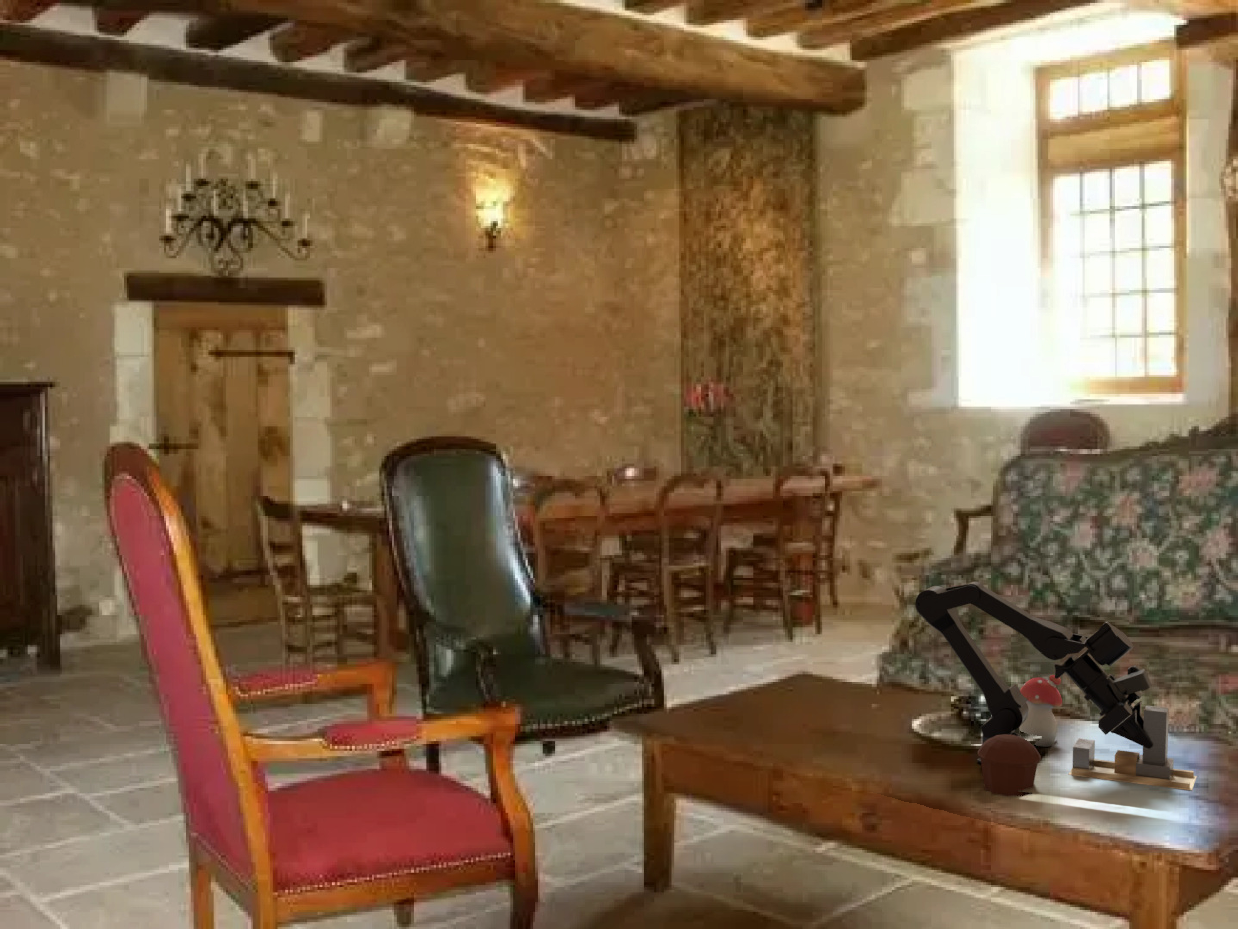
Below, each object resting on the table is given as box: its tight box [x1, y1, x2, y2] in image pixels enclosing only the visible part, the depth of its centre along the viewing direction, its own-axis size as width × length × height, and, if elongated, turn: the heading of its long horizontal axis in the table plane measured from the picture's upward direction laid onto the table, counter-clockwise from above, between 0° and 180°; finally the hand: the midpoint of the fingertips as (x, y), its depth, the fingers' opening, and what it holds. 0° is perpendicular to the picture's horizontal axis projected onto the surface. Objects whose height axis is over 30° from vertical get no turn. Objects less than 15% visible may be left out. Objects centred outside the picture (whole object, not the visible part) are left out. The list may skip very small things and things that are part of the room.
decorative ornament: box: [1018, 674, 1063, 747], centre depth 294 cm, size 9×6×15 cm
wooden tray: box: [1068, 758, 1198, 791], centre depth 267 cm, size 22×10×2 cm, turn 63°
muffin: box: [977, 734, 1042, 797], centre depth 262 cm, size 12×11×10 cm
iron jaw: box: [1072, 738, 1096, 770], centre depth 271 cm, size 3×7×5 cm, turn 153°
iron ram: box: [1136, 705, 1175, 780], centre depth 265 cm, size 6×7×13 cm
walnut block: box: [1114, 749, 1141, 776], centre depth 268 cm, size 4×4×4 cm
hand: (1152, 744), depth 265 cm, fingers closed on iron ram, 4 cm apart
